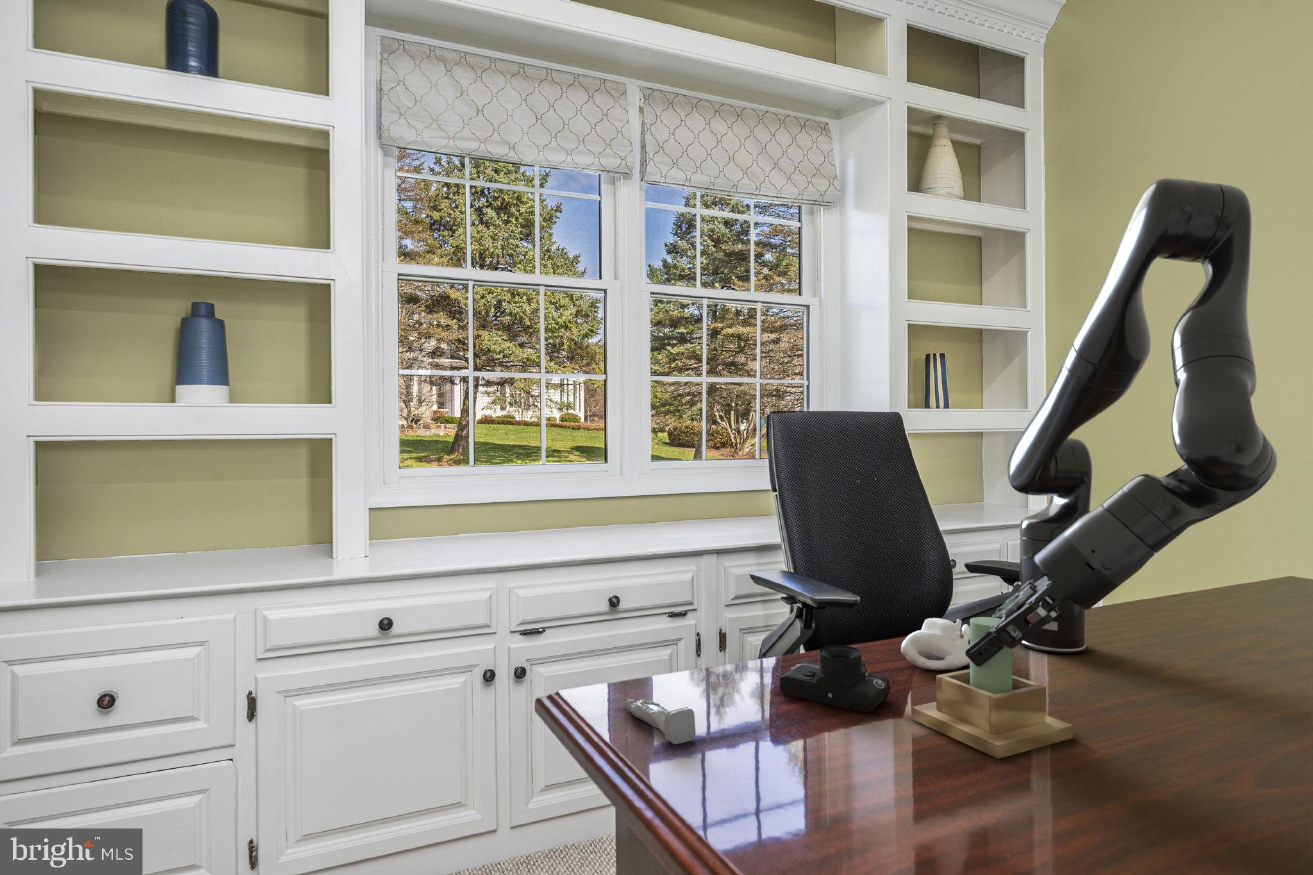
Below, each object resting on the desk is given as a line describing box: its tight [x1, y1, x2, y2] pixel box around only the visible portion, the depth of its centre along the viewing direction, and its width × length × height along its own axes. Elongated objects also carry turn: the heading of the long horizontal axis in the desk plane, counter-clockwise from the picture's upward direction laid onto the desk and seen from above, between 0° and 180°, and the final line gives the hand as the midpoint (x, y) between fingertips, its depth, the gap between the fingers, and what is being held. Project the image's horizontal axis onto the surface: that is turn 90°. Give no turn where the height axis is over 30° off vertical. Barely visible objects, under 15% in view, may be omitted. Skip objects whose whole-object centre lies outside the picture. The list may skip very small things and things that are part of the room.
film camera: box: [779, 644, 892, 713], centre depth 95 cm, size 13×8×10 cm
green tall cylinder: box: [969, 616, 1013, 695], centre depth 85 cm, size 4×4×9 cm
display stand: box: [911, 668, 1074, 760], centre depth 85 cm, size 12×12×6 cm
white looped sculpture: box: [900, 617, 970, 672], centre depth 109 cm, size 9×12×8 cm
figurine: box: [625, 698, 697, 745], centre depth 86 cm, size 4×12×4 cm, turn 32°
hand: (972, 653), depth 86 cm, fingers closed on green tall cylinder, 4 cm apart
